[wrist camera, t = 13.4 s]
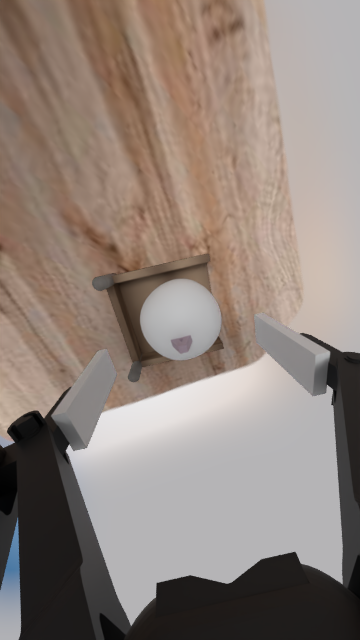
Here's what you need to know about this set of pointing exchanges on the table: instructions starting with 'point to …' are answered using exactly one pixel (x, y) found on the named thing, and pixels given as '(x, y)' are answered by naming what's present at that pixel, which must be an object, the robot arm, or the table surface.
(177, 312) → the ornament
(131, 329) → the keeper
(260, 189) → the table surface
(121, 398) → the table surface
